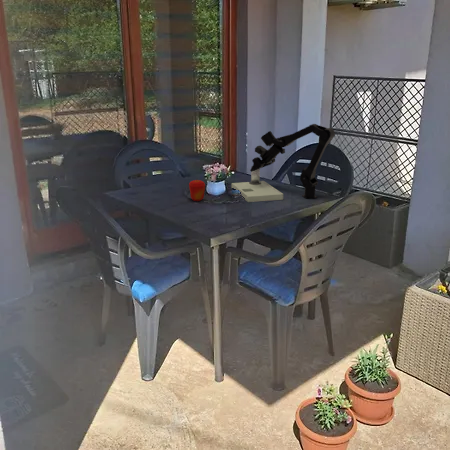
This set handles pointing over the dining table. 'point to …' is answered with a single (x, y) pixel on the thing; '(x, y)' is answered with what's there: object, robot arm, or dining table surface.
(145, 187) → the dining table surface
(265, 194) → the block
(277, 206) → the dining table surface
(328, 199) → the dining table surface
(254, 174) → the grey upright piece
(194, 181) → the red cylinder
